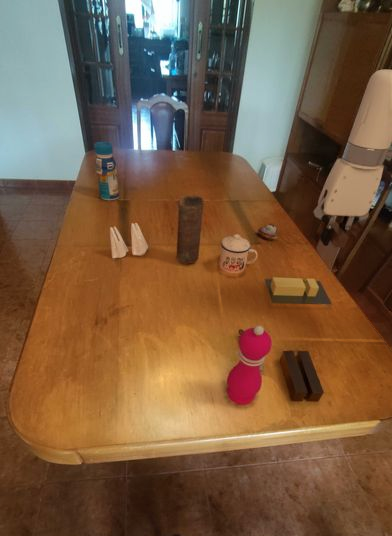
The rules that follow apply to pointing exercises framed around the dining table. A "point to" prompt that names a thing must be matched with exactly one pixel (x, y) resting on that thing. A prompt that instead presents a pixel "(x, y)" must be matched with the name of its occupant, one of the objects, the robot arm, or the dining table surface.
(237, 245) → the teacup with lid
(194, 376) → the dining table surface
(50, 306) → the dining table surface
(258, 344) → the pepper mill
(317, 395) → the dark wooden bar pair
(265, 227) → the pastry
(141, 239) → the shaker set
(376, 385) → the dining table surface
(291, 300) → the slate board
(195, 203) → the candle
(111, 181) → the beverage bottle
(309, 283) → the butter slice
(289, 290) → the butter
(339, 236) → the dark brown flat block
